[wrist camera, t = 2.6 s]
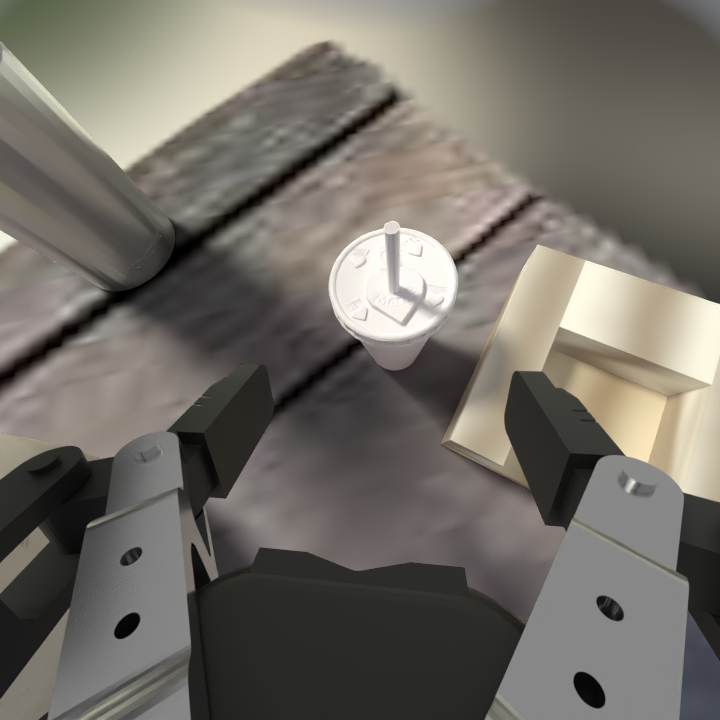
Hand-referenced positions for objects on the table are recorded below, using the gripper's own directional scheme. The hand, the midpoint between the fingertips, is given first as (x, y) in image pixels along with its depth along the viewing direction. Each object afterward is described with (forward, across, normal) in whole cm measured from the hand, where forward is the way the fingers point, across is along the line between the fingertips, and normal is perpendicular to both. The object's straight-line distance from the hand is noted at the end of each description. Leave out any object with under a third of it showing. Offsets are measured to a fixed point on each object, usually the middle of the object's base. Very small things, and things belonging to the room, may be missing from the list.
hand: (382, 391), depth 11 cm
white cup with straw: (+14, 0, +5) cm, 15 cm away
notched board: (+11, -13, +7) cm, 18 cm away
